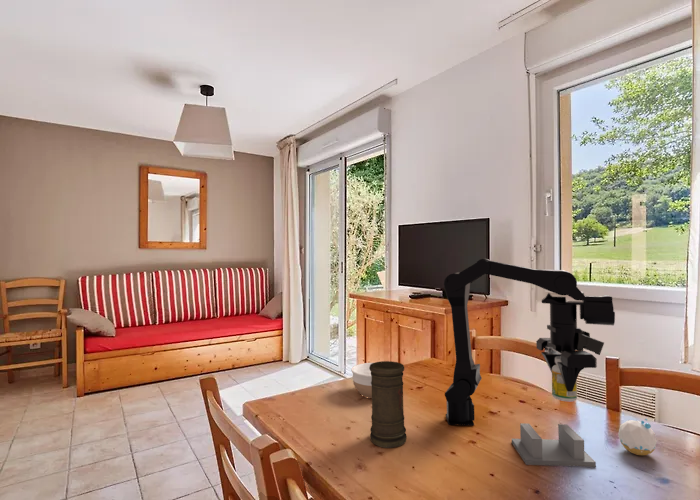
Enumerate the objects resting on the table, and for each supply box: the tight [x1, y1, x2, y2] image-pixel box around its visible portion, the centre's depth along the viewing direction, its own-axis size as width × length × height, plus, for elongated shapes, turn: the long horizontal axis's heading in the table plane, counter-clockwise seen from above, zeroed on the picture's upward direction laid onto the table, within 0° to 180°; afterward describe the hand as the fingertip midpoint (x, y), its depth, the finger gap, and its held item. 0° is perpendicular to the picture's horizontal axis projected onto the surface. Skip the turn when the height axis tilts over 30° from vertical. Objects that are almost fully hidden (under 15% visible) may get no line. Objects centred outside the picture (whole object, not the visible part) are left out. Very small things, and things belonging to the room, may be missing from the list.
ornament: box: [617, 418, 657, 456], centre depth 89 cm, size 7×7×8 cm
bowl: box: [351, 362, 373, 399], centre depth 131 cm, size 16×16×8 cm
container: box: [369, 360, 408, 449], centre depth 98 cm, size 9×9×18 cm
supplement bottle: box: [551, 356, 578, 403], centre depth 97 cm, size 5×5×10 cm
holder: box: [511, 423, 597, 468], centre depth 89 cm, size 14×10×5 cm
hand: (564, 387), depth 97 cm, fingers closed on supplement bottle, 5 cm apart
